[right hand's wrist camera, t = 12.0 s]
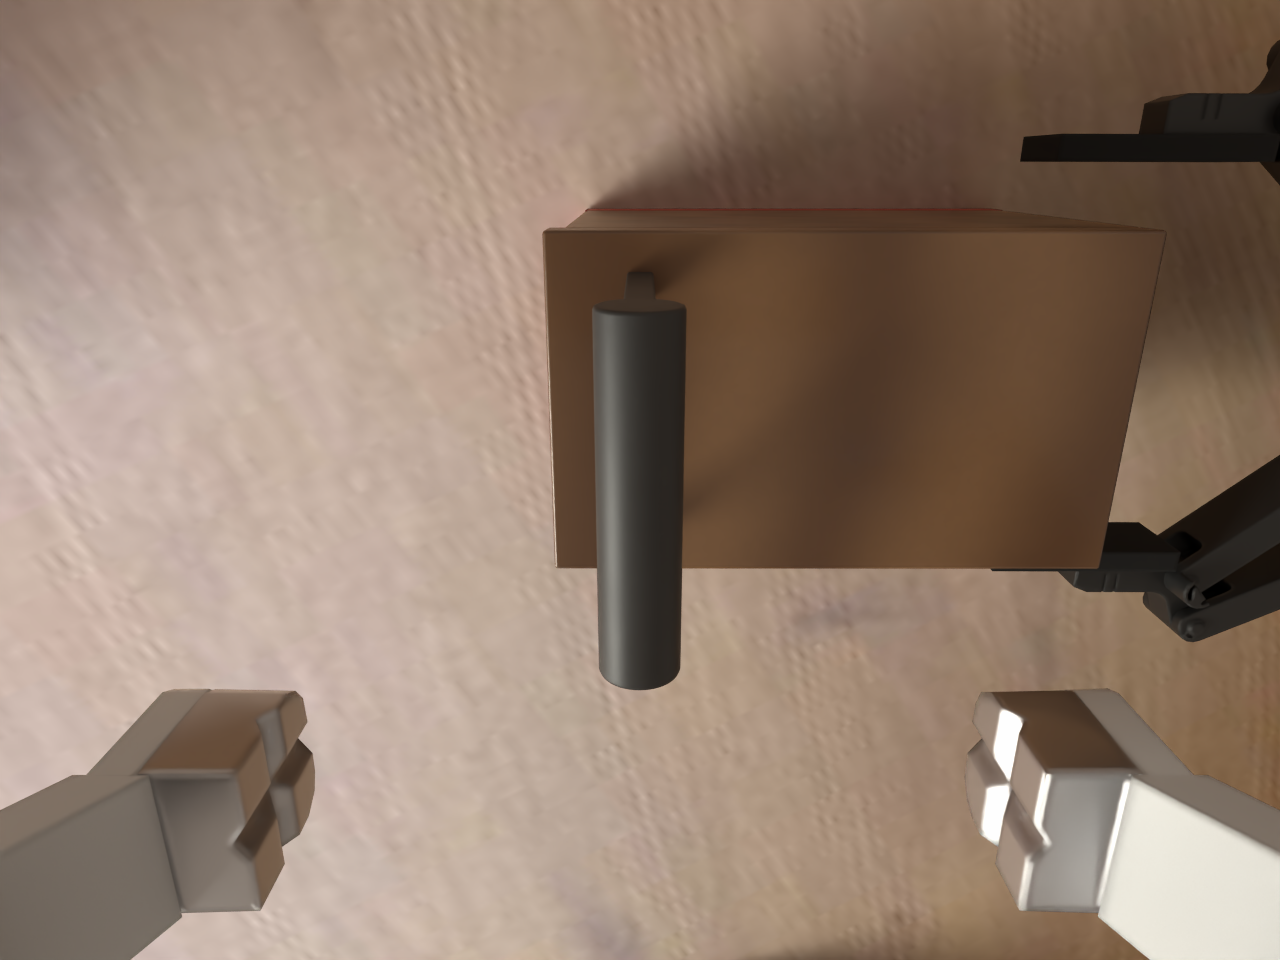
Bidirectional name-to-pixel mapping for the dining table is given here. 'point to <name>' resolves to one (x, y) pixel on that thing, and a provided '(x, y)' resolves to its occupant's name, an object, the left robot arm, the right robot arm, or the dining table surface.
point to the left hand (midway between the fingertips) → (1005, 362)
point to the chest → (824, 219)
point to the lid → (832, 404)
